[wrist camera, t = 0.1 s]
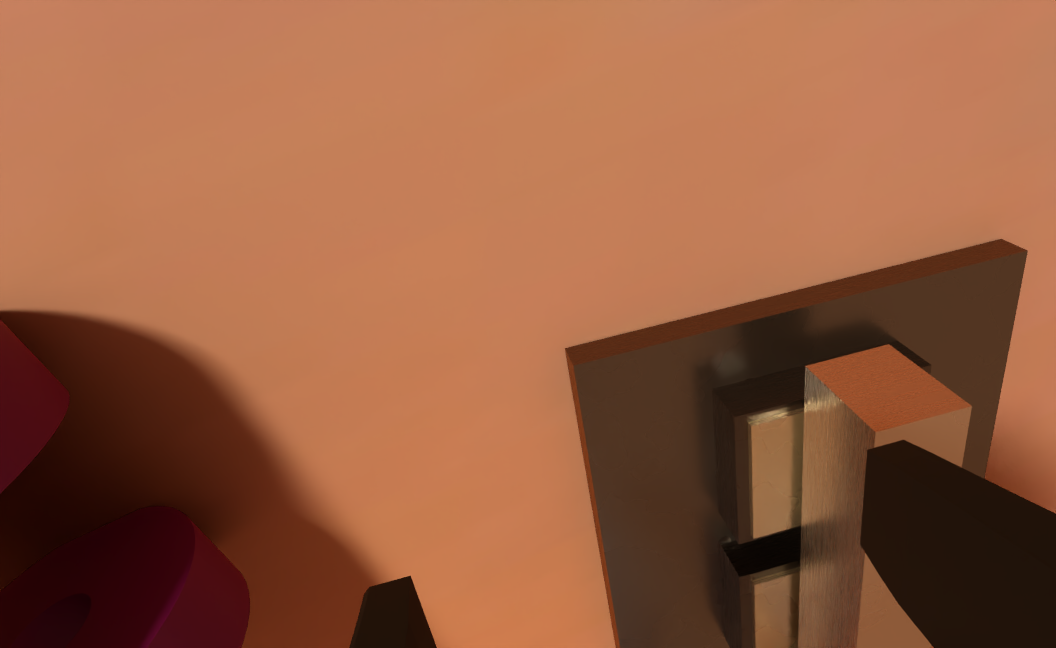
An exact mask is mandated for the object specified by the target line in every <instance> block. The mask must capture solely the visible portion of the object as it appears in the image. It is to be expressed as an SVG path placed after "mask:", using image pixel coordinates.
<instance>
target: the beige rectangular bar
mask: <svg viewBox="0 0 1056 648" xmlns="http://www.w3.org/2000/svg"><path fill="white" fill-rule="evenodd" d="M971 409H972V406H971V405H970V404H968V403H967V402H966V401H964V400H963V399H962V398H960V397H959V396H958V395H956V394H955V393H954V392H952V391H951V390H950V389H948V388H947V387H946V386H944V385H943V384H942V383H940V382H939V381H938V380H936V379H935V378H934V377H932V376H931V375H930V374H928V373H927V372H926V371H924V370H923V369H921V368H920V367H919V366H917V365H916V364H915V363H913V362H912V361H911V360H909V359H908V358H907V357H905V356H904V355H903V354H901V353H900V352H899V351H897V350H896V349H895V348H893V347H892V346H891V345H889V344H888V345H884V346H880V347H876V348H872V349H869V350H865V351H861V352H857V353H853V354H849V355H846V356H842V357H838V358H834V359H830V360H826V361H823V362H819V363H815V364H811V365H807V366H805V394H804V433H803V472H802V512H801V551H800V590H799V630H798V648H931V646H932V645H931V644H930V643H929V641H928V640H927V639H926V638H925V636H924V635H923V634H922V633H921V631H920V630H919V629H918V628H917V627H916V625H915V624H914V623H913V622H912V620H911V619H910V618H909V617H908V615H907V614H906V613H905V612H904V610H903V609H902V608H901V607H900V605H899V604H898V603H897V601H896V600H895V598H894V597H893V595H892V594H891V592H890V591H889V589H888V588H887V586H886V585H885V583H884V582H883V580H882V579H881V577H880V576H879V574H878V572H877V571H876V569H875V568H874V566H873V564H872V563H871V561H870V560H869V558H868V556H867V555H866V553H865V552H864V550H863V548H862V547H861V545H860V537H861V524H862V511H863V498H864V484H865V471H866V458H867V450H868V449H871V448H875V447H878V446H882V445H886V444H889V443H893V442H897V441H900V440H906V441H908V442H910V443H912V444H914V445H916V446H919V447H921V448H923V449H925V450H927V451H929V452H931V453H933V454H935V455H937V456H939V457H941V458H943V459H945V460H947V461H949V462H951V463H953V464H955V465H958V466H960V467H962V462H963V457H964V451H965V445H966V439H967V433H968V427H969V421H970V415H971Z"/></svg>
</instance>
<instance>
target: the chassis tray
mask: <svg viewBox="0 0 1056 648" xmlns="http://www.w3.org/2000/svg"><path fill="white" fill-rule="evenodd" d="M1027 252H1028V251H1027V250H1025V249H1023V248H1021V247H1018V246H1016V245H1014V244H1012V243H1009V242H1007V241H1005V240H1003V239H999V240H995V241H991V242H988V243H984V244H980V245H976V246H972V247H968V248H964V249H960V250H956V251H952V252H948V253H944V254H940V255H936V256H932V257H928V258H924V259H920V260H916V261H912V262H908V263H904V264H900V265H896V266H892V267H888V268H884V269H880V270H876V271H872V272H868V273H864V274H860V275H856V276H852V277H848V278H844V279H840V280H836V281H832V282H828V283H824V284H820V285H816V286H812V287H808V288H804V289H800V290H796V291H792V292H788V293H784V294H780V295H776V296H772V297H768V298H764V299H760V300H756V301H752V302H748V303H744V304H740V305H736V306H732V307H728V308H724V309H720V310H716V311H712V312H708V313H704V314H700V315H696V316H692V317H689V318H685V319H681V320H677V321H673V322H669V323H665V324H661V325H657V326H653V327H649V328H645V329H641V330H637V331H633V332H629V333H625V334H621V335H617V336H613V337H609V338H605V339H601V340H597V341H593V342H589V343H585V344H581V345H577V346H573V347H569V348H565V352H566V358H567V364H568V370H569V375H570V381H571V387H572V393H573V399H574V405H575V411H576V417H577V422H578V428H579V434H580V440H581V446H582V452H583V458H584V463H585V469H586V475H587V481H588V487H589V493H590V499H591V505H592V510H593V516H594V522H595V528H596V534H597V540H598V546H599V551H600V557H601V563H602V569H603V575H604V581H605V587H606V593H607V598H608V604H609V610H610V616H611V622H612V628H613V634H614V640H615V645H616V648H798V630H799V590H800V551H801V512H802V472H803V433H804V394H805V366H807V365H811V364H815V363H819V362H823V361H826V360H830V359H834V358H838V357H842V356H846V355H849V354H853V353H857V352H861V351H865V350H869V349H872V348H876V347H880V346H884V345H888V344H889V345H891V346H892V347H893V348H895V349H896V350H897V351H899V352H900V353H901V354H903V355H904V356H905V357H907V358H908V359H909V360H911V361H912V362H913V363H915V364H916V365H917V366H919V367H920V368H921V369H923V370H924V371H926V372H927V373H928V374H930V375H931V376H932V377H934V378H935V379H936V380H938V381H939V382H940V383H942V384H943V385H944V386H946V387H947V388H948V389H950V390H951V391H952V392H954V393H955V394H956V395H958V396H959V397H960V398H962V399H963V400H964V401H966V402H967V403H968V404H970V405H971V406H972V409H971V415H970V421H969V427H968V433H967V439H966V445H965V451H964V457H963V462H962V468H964V469H966V470H968V471H970V472H972V473H974V474H976V475H978V476H980V477H982V478H984V477H985V472H986V467H987V461H988V456H989V451H990V446H991V440H992V435H993V430H994V425H995V419H996V414H997V409H998V404H999V398H1000V393H1001V388H1002V383H1003V377H1004V372H1005V367H1006V362H1007V357H1008V351H1009V346H1010V341H1011V336H1012V330H1013V325H1014V320H1015V315H1016V309H1017V304H1018V299H1019V294H1020V288H1021V283H1022V278H1023V273H1024V267H1025V262H1026V257H1027Z"/></svg>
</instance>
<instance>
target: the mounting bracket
mask: <svg viewBox="0 0 1056 648" xmlns="http://www.w3.org/2000/svg"><path fill="white" fill-rule="evenodd" d="M69 400H70V396H69V392H68V391H67V389H66V388H65V387H64V386H63V385H62V384H61V383H60V382H59V381H58V380H57V379H56V378H55V376H54V375H53V374H52V373H51V372H50V371H49V370H48V369H47V368H46V367H45V366H44V365H43V364H42V363H41V362H40V361H39V360H38V359H37V358H36V356H35V355H34V354H33V353H32V352H31V351H30V350H29V349H28V348H27V347H26V346H25V345H24V344H23V343H22V342H21V341H20V340H19V339H18V338H17V336H16V335H15V334H14V333H13V332H12V331H11V330H10V329H9V328H8V327H7V326H6V325H5V324H4V323H3V322H2V321H1V320H0V493H1V492H2V491H3V490H4V489H5V488H6V487H7V486H8V485H9V484H10V483H11V482H12V481H13V480H14V479H15V478H16V477H17V476H18V475H19V474H20V473H21V472H22V471H23V470H24V469H25V468H26V467H27V466H28V465H29V464H30V462H31V461H32V460H33V459H34V458H35V457H36V456H37V454H38V453H39V452H40V451H41V450H42V448H43V447H44V446H45V445H46V443H47V442H48V441H49V439H50V438H51V437H52V435H53V434H54V433H55V431H56V430H57V428H58V426H59V425H60V423H61V422H62V420H63V418H64V416H65V414H66V412H67V409H68V406H69ZM249 612H250V598H249V590H248V587H247V583H246V581H245V579H244V577H243V575H242V574H241V573H240V572H239V570H238V569H237V568H236V567H235V566H234V565H233V564H232V563H231V562H230V561H229V560H228V559H227V558H226V557H225V555H224V554H223V553H222V552H221V551H220V550H219V549H218V548H217V547H216V546H215V545H214V544H213V543H212V542H211V541H210V540H209V539H208V538H207V537H206V535H205V534H204V533H203V532H202V531H201V530H200V529H199V528H198V527H197V526H196V525H195V524H194V523H193V522H192V521H191V520H190V519H189V518H188V517H187V515H186V514H184V513H183V512H181V511H180V510H177V509H175V508H171V507H165V506H153V507H145V508H141V509H138V510H136V511H134V512H132V513H130V514H127V515H125V516H123V517H121V518H119V519H117V520H115V521H112V522H110V523H108V524H106V525H104V526H102V527H100V528H98V529H95V530H93V531H91V532H89V533H87V534H85V535H83V536H80V537H78V538H76V539H74V540H72V541H70V542H68V543H66V544H63V545H61V546H59V547H57V548H56V549H55V550H53V551H52V552H50V553H49V554H47V555H46V556H44V557H43V558H42V559H40V560H39V561H38V562H36V563H35V564H34V565H32V566H31V567H30V568H28V569H27V570H26V571H25V572H23V573H22V574H21V575H20V576H18V577H17V578H16V579H15V580H13V581H12V582H11V583H10V584H9V585H8V586H6V587H5V588H4V589H3V590H2V591H1V592H0V648H241V647H242V644H243V641H244V637H245V634H246V630H247V626H248V619H249Z"/></svg>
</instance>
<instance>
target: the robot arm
mask: <svg viewBox="0 0 1056 648" xmlns="http://www.w3.org/2000/svg"><path fill="white" fill-rule="evenodd" d="M860 545H861V547H862V548H863V550H864V552H865V553H866V555H867V556H868V558H869V560H870V561H871V563H872V564H873V566H874V568H875V569H876V571H877V572H878V574H879V576H880V577H881V579H882V580H883V582H884V583H885V585H886V586H887V588H888V589H889V591H890V592H891V594H892V595H893V597H894V598H895V600H896V601H897V603H898V604H899V605H900V607H901V608H902V609H903V610H904V612H905V613H906V614H907V615H908V617H909V618H910V619H911V620H912V622H913V623H914V624H915V625H916V627H917V628H918V629H919V630H920V631H921V633H922V634H923V635H924V636H925V638H926V639H927V640H928V641H929V643H930V644H931V645H932V646H933V647H934V648H1056V514H1055V513H1053V512H1051V511H1049V510H1047V509H1045V508H1043V507H1041V506H1039V505H1036V504H1034V503H1032V502H1030V501H1028V500H1026V499H1024V498H1022V497H1020V496H1018V495H1016V494H1014V493H1012V492H1010V491H1008V490H1006V489H1004V488H1002V487H1000V486H998V485H996V484H994V483H992V482H990V481H988V480H986V479H984V478H982V477H980V476H978V475H976V474H974V473H972V472H970V471H968V470H966V469H964V468H962V467H960V466H958V465H955V464H953V463H951V462H949V461H947V460H945V459H943V458H941V457H939V456H937V455H935V454H933V453H931V452H929V451H927V450H925V449H923V448H921V447H919V446H916V445H914V444H912V443H910V442H908V441H906V440H900V441H897V442H893V443H889V444H886V445H882V446H878V447H875V448H871V449H868V450H867V458H866V471H865V484H864V498H863V511H862V524H861V537H860ZM349 648H437V647H436V644H435V642H434V639H433V636H432V633H431V631H430V628H429V625H428V623H427V620H426V617H425V614H424V612H423V609H422V606H421V603H420V601H419V598H418V595H417V592H416V590H415V587H414V584H413V581H412V579H411V576H408V577H404V578H401V579H397V580H393V581H390V582H386V583H383V584H379V585H375V586H372V587H369V588H368V590H367V591H366V593H365V594H364V597H363V601H362V605H361V609H360V613H359V616H358V620H357V623H356V627H355V631H354V634H353V637H352V641H351V644H350V647H349Z"/></svg>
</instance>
